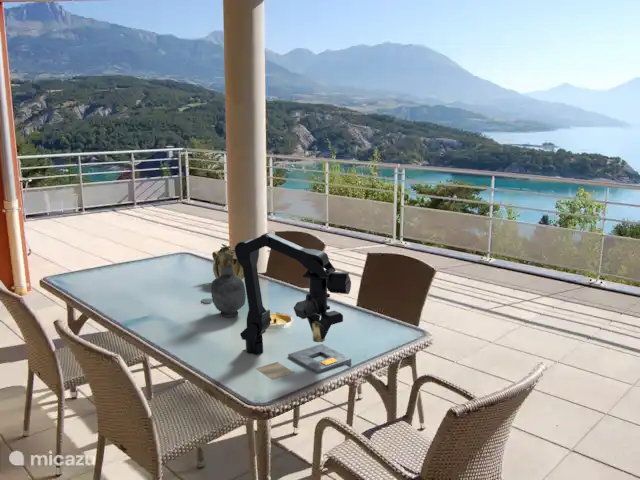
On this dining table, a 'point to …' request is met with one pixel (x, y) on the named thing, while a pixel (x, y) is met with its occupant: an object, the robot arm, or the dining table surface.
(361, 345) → the dining table surface
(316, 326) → the brass peg
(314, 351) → the hole plate
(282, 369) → the pad
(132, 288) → the dining table surface
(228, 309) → the grey stone vase
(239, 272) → the dried plant tuft
